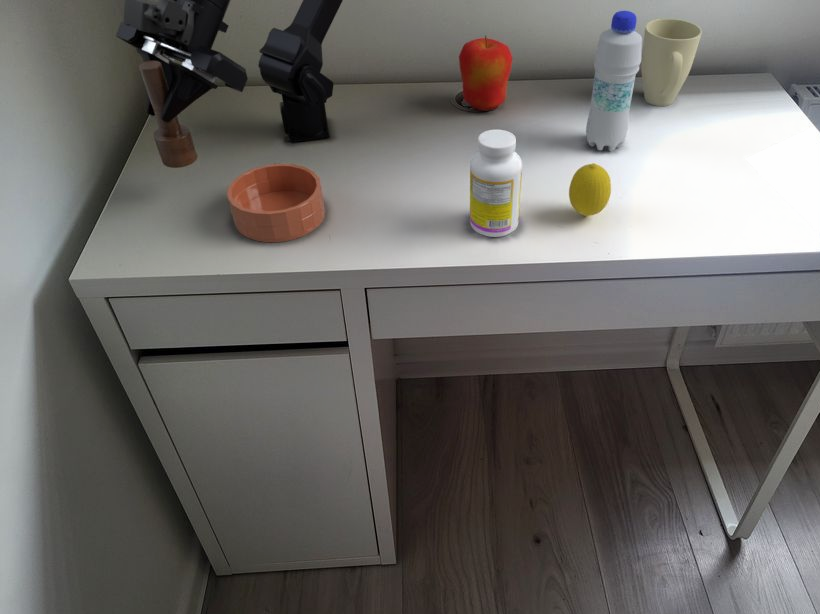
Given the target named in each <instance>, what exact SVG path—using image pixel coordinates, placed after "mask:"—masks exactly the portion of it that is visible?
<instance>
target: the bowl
mask: <svg viewBox="0 0 820 614" xmlns="http://www.w3.org/2000/svg"><path fill="white" fill-rule="evenodd" d="M226 197H227V201H228V206H229V209H230V213H231V216H232V219H233V224H234V226H235V228H236V229H237V231H238V232H239V233H240V234H241V235H242V236H244V237H245V238H248V239H250V240H253V241H257V242H262V243H283V242H289V241H294V240H297V239H298V238H302V237H305V236H306V235H309V234H310V233H312V232H313V231H314V230H316V229H317V228H318V227H319V226H320V225H321V224H322V223H323V221H324V219H325V215H326V207H325V202H324V194H323V189H322V182H321V178H320V177H319V176H318V175H317V174H316V173H315V171H313V170H311V169H309V168H308V167H305V166H302V165H298V164H294V163H293V164H292V163H273V164H272V163H271V164H265V165H260V166H257V167H254V168H250V169H249V170H247V171H245V172H243V173H241V174H239V175H237V177H235V179H233V180H232V181H231V182H230V184H229V186H228V188H227V189H226Z"/></svg>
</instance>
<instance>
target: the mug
mask: <svg viewBox="0 0 820 614" xmlns="http://www.w3.org/2000/svg"><path fill="white" fill-rule="evenodd" d="M702 33H703V30H702V28H701V27H700V26H699V25H697V24H696V23H694V22H691V21H687V20H685V19H684V20H683V19H678V18H658V19H653V20H650V21H648V22H647V23H646V24H645V26H644V35H643V41H642V50H641V62H640V64H641V65H640V67H641V80H642V81H641V82H642V87H643V89H642V90H643V96H644V100H645V102H646V103H648V104H650V105H652V106H656V107H666V106H670V105H672V104H673V103H674V101H675V99H676V97H677V96H678V94H679V92H680V91H681V89H682V87H683V85H684V83H685V82H686V80H687V78H688V76H689V74H690V71H691V69H692V66H693V63H694V60H695V57H696V54H697V50H698V46H699V44H700V40H701V38H702Z"/></svg>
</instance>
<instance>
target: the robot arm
mask: <svg viewBox="0 0 820 614" xmlns="http://www.w3.org/2000/svg"><path fill="white" fill-rule="evenodd" d="M343 1H344V0H302V1H301V4H300V6H299V8H298V10H297V12H296V14H295V15H294V17H293V20H292V22H291V23H290V25H289V26H288V27H286V28H285V29H283V30H282V29H279V28H276V27H273V28H271V29H270V31H269V32H268V35H267V39H266V41H265V43H264V45H263V46H262V47H261V48H260V49H259V53H260V57H259V61H258V64H257V65H258V68H259V72H260V76H261V78H262V81H264V83H265V84H266V85H268V86H269V88H270V90H271V92H272V93H274V94H279V95H281V101H280V102H279V110H280V115H281V121H282V124H283V125H282V126H283V132H284V134H286V135H287V136H288V137H287V138H288V141H289V142H290V143H296V142H305V141H314V140H323V139H330V138H331V131H330V127H329V124H328V118H327V111H326V103H327V100H328V99H329V98H331V97H332V96H333V92H334V82H333V81H332V80H331V79H330V78H329V77H327V76H326V75H324V74H323V73H322V72H321V71H322V68H323V65H324V62H323V47H322V45H323V41H324V39H325V38H326V36H327V33H328V31H329V29H330V27H331V26H332V23H333V22H334V19H335V17H336V15H337V14H338V11H339V9H340V7H341V5H342V3H343ZM230 3H231V0H158V2H157V1H153V0H124V1H123V17H122V19H123V20H122V21H121V22H120V24H119V26H118V29H117V32H116V34H115V38H117V39H120V40H122V41H123V42H125V43H126V44H128V45H130V46H132V47H133V48H135V50H136V53H137V54H138V55H140V57H141V59H142V61H143V62H147V61H159V62H160V63H161V65H162V68H163V71H164V75H165V78H166V81H167V84H168V88H169V90H168V93H167V96H166V99H165V102H164V105H163V109H162V114H161V120H163V121H165V122H170V121H171V120H172V119H174V118H175V117H176V116H177V117H178V116H179V115H180V114H181V113H182V112H183V111H185V110H186V109H187V108H188V107H189V106H191V105H192V104H193V103H194V102H195V101H197V100H198V99H200V98H201V97H202V96H204V95H205V94H206V93H209V92H210V91H211V90H212V89H213V90H217V89H218V85H217V84H216V83H215V81H216V78H217V79H218V80H220V81H222V82H223V83H224V86H225V87H227V88H229V89H232V90H235V91H237V92H240V93H243V91H244V89H245V87H246V84H247V81H248V75H247V70H246V68H245V67H244V66H242V65H241V64H238V62H236V61H234V60H233V59H231V58H229V57H228V56H226V55H225V54H223V53H222V52H220V51H218V50H215V49H213V46H214V44H215V40H216V38H217V35H218V33H219V32H221V33H225V34H227V31H228V29H229V25H228V24H227V23H226V22H225V21H224V18H225V15H226V13H227V11H228V8H229V6H230ZM176 61H178V62H181V64H180V63H178V62H176ZM145 97H146V99H145V113H146V114H147V115H149V116H151V117H155V114H154V111H153V107H152V104H151V101H150V98H149V95H148V92H147V91H146V95H145Z"/></svg>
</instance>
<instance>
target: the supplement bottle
mask: <svg viewBox="0 0 820 614" xmlns="http://www.w3.org/2000/svg"><path fill="white" fill-rule="evenodd" d="M516 140H517V139H516V136H515V135H514V134H513V133H512V132H510V131H508V130H504V129H489V130H485V131H483V132H481V133H480V134H479V135H478V137H477V149H478V151H477V152H476V153H474V154H473V155H472V157H471V160H470V162H469V223H470V226H471V228H472V229H473V231H475V232H476V233H477V234H480V235H482V236H486V237H491V238H499V237H500V238H501V237H505V236H507V235H510V234H511V233H513V232H514V231H515V230H516V229H517V228H518V226H519V221H520V208H521V207H520V206H521V191H522V174H523V160H522V158H521V156H520V155H519V154H518V153H517V152H516V151H515V150H516V147H517V146H516V145H517V141H516Z"/></svg>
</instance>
